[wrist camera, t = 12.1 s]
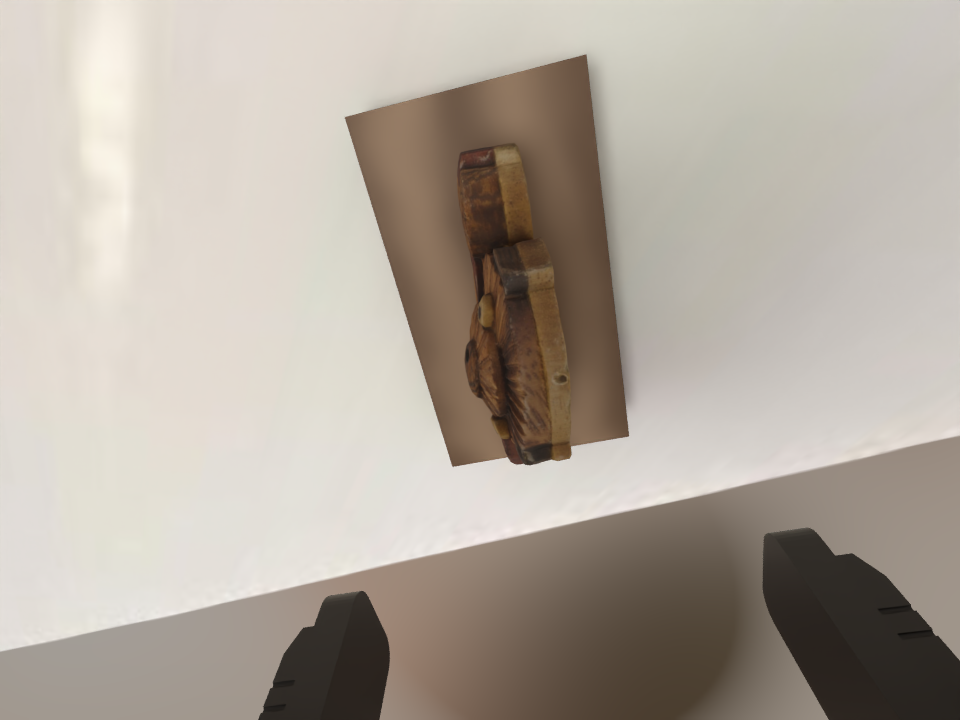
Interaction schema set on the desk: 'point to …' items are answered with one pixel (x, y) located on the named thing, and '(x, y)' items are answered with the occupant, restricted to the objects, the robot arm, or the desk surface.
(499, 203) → the wooden carving
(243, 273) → the desk surface
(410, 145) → the walnut plinth
